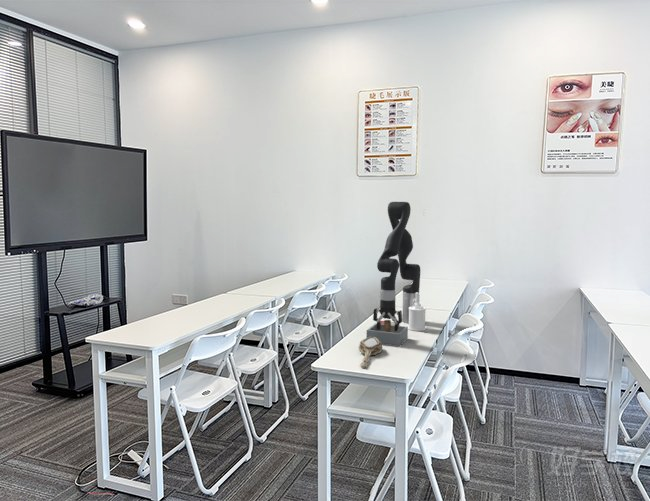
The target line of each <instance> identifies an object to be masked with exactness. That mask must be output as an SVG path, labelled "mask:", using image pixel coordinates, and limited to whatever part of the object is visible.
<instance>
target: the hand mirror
mask: <svg viewBox="0 0 650 501" xmlns="http://www.w3.org/2000/svg"><path fill="white" fill-rule="evenodd" d="M358 351H359V352H360V353H361V354H362V355H364V357H363V359H362V362H361V363H360V364H359V365H360V367H361V368H363V369H366V368H367V367H369V366H368V363H369V361H370V359H369V358H370V357H371V356H375V355H376V356H377V354H380V353H381V352H382V351H383V344H381V342H380V341H379V339H377V338H376V337H368V338H367V337H365V338H363V339H362V340H361V341H360V342H359V345H358ZM365 367H366V368H365Z"/></svg>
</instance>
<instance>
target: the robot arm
mask: <svg viewBox="0 0 650 501" xmlns="http://www.w3.org/2000/svg"><path fill="white" fill-rule="evenodd" d="M411 211H412V210H411V205H410V203H409V202H408V201H391V202H389V203H388V204H387V214H388V220H389V222H390V225H391V228H392V231H391V232H390V233H389V234H388V236H387V238H386V241H385V245H384V250H383V252H382V253H381V255H380V257H379V259H378V260H377V263H376V264H377V265H376V267H377V270H378V272H380V273H389V276H383V277H381V280H380V293H379V294H380V296H379V308H374V309H373V315H372V316H373V318H372V320H373V321H374V322H376V323H377V328H378V330H380V329H381V322H380V321H382V319H384V320H391V322H394V323H395V332H396V331H397V330H398V324H399V325H400V324H402V323H404V324H405V323H406V324H409V307H411V306H412V302H413V299H414V298H415V300H416V292H418V293H419V294H420V284H421V266H420V265H419V264H416V263H407V259H408V257H409V256H410V254H411V253H412V251H413V249H414V242H413V237H412V235H411V233H410V232H409V231H408V230H407V229H406V227H407V224H408V222H409V219H410V217H411ZM396 256H397V258H398V259H397V258H393V257H396ZM398 272H400V273H399V274H400V277H401V279H403V280H406V281H412V283H411V284H407V285H404V286H403V287H402V310H396V294H397V293H396V279H397V275H398ZM415 300H414V302H415ZM414 302H413V305H414V306H415V304H414ZM415 303H416V302H415ZM378 314H380V316H378ZM396 315H397V316H396Z"/></svg>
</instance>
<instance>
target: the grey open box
mask: <svg viewBox="0 0 650 501" xmlns="http://www.w3.org/2000/svg"><path fill="white" fill-rule="evenodd" d="M408 327H409V326H402V325H399V326H398V330H397V331H396V332H395V325H391V332H384V324H381V329H380V330H378V328H377V322H376V323H374V324H372V325H371V326H370V327H369V328H367V329H366V338H368V337H376V338H377V339H379V341H380V342H381V344H382V345H388V346H393V345H395V346H396V347H401V346H402V345H403V344H404V343H405V342H406V341H407V340H408V339H407V338H409V336H408V335H409V334H408V332H409V331H408V330H409V329H408ZM406 339H407V340H406ZM405 340H406V341H405ZM404 341H405V342H404ZM402 343H403V344H402Z"/></svg>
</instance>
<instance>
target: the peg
mask: <svg viewBox="0 0 650 501" xmlns="http://www.w3.org/2000/svg"><path fill="white" fill-rule="evenodd" d="M383 321H384V332H391V322H392V319H384V320H383Z"/></svg>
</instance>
